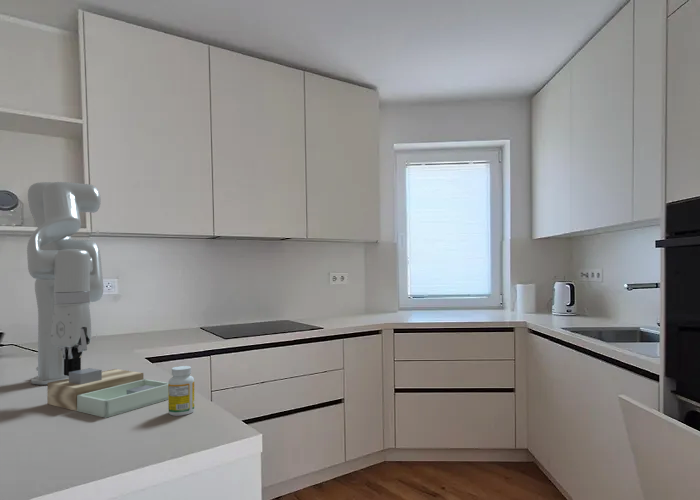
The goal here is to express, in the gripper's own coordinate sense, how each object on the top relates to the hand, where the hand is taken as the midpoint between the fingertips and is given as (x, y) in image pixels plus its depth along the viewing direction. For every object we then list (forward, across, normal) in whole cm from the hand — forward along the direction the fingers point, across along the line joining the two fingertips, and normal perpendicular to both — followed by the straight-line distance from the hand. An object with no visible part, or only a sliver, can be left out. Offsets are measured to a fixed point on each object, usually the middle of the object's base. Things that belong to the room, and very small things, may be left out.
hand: (72, 374), depth 113 cm
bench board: (+6, +4, +4) cm, 8 cm away
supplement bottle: (+6, +33, +5) cm, 34 cm away
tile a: (+3, +18, +7) cm, 19 cm away
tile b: (+1, +5, 0) cm, 6 cm away
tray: (+6, +16, +4) cm, 18 cm away
